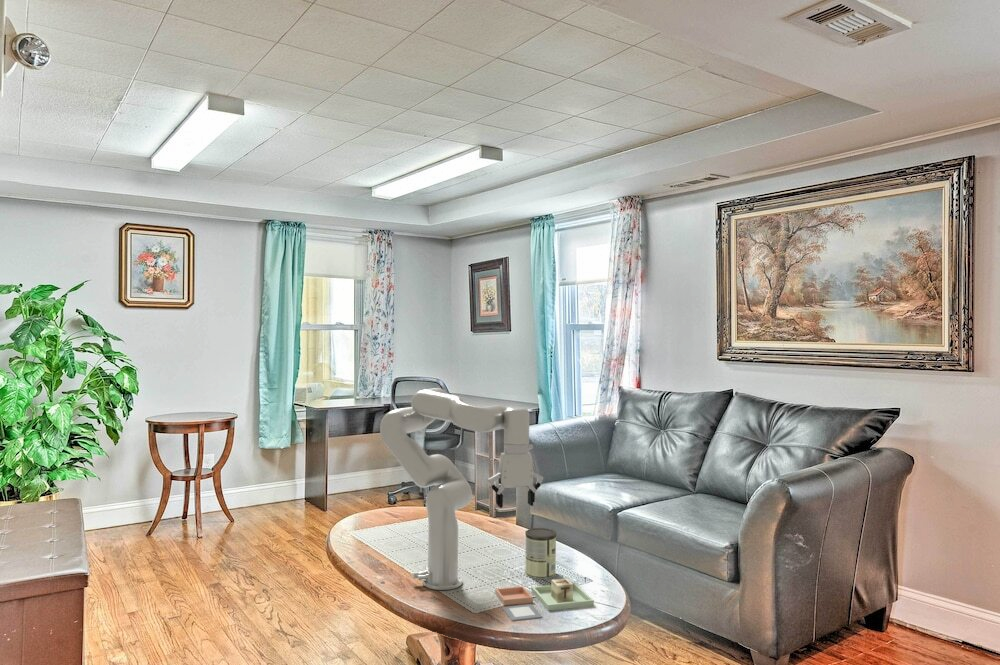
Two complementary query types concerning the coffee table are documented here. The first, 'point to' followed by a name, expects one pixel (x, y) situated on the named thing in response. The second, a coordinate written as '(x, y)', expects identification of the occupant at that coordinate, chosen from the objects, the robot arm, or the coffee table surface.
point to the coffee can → (540, 553)
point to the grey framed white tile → (522, 612)
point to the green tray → (550, 604)
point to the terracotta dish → (513, 595)
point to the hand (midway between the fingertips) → (515, 505)
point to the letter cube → (561, 590)
